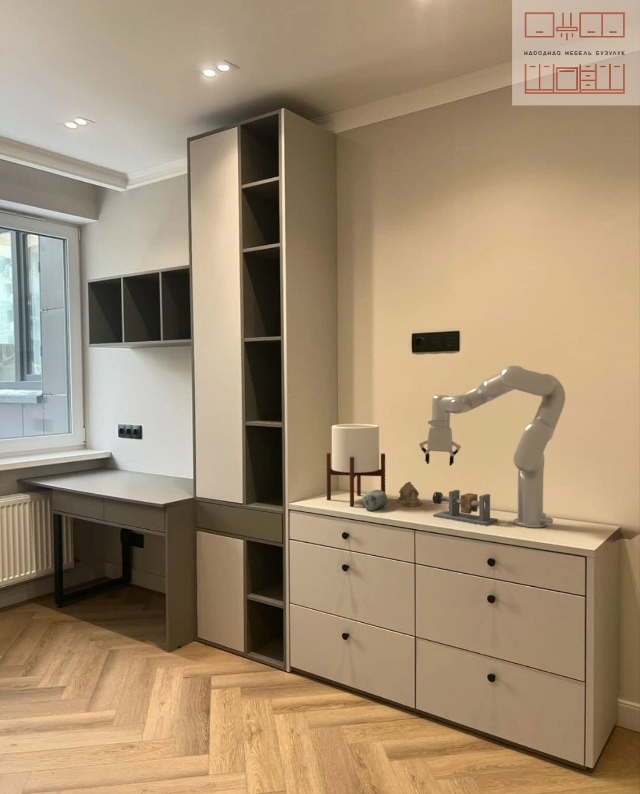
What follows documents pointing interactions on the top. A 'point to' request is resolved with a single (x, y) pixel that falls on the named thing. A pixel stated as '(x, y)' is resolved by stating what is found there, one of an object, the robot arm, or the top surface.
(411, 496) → the ceramic model
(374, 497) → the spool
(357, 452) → the plant pot with stand
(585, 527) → the top surface
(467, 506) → the block
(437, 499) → the shaft
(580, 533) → the top surface
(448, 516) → the grey bearing stand
